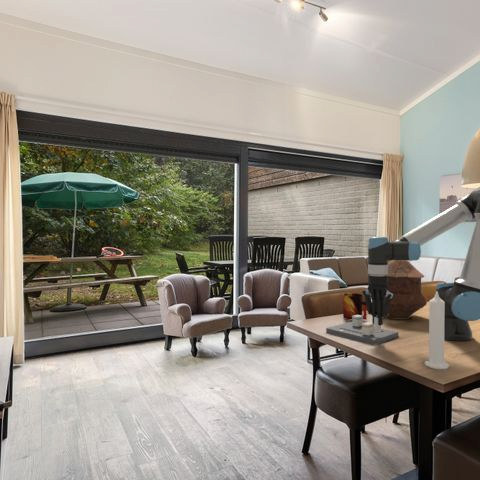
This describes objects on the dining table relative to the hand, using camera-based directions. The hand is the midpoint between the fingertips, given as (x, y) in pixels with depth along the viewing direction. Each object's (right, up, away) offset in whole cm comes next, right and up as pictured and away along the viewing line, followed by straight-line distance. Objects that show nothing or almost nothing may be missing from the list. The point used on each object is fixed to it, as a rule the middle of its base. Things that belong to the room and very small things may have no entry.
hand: (377, 332), depth 154 cm
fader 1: (-3, -1, +18) cm, 18 cm away
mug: (+4, -3, +42) cm, 42 cm away
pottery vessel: (+27, -3, +44) cm, 52 cm away
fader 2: (-3, -1, +4) cm, 5 cm away
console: (-3, -4, +11) cm, 12 cm away
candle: (+10, -5, -27) cm, 29 cm away
